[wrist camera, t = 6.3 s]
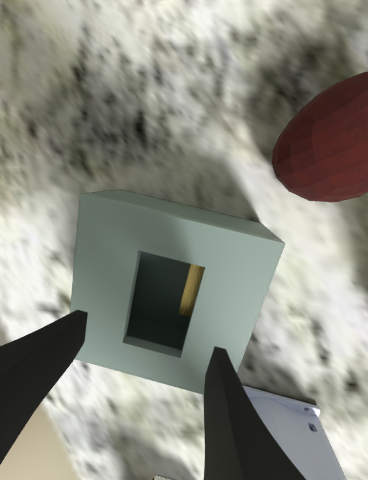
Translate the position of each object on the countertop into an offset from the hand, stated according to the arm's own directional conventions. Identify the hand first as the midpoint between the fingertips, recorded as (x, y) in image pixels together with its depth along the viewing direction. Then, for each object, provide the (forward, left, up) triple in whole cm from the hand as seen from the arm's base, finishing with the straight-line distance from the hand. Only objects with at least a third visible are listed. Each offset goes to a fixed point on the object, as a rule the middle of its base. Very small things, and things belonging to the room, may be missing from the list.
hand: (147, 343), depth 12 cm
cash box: (0, 0, -10) cm, 10 cm away
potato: (-9, -13, -10) cm, 19 cm away
